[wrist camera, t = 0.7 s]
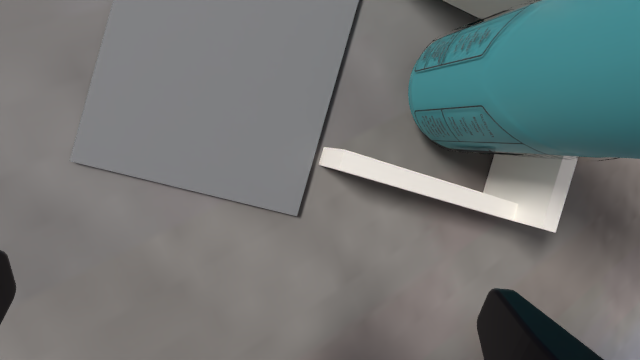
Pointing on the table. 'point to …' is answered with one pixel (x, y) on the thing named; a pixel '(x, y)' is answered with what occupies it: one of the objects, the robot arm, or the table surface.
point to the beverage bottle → (536, 82)
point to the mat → (215, 94)
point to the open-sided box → (505, 172)
